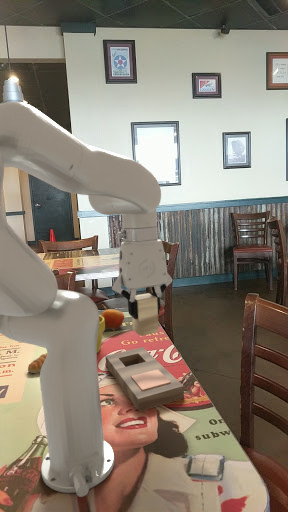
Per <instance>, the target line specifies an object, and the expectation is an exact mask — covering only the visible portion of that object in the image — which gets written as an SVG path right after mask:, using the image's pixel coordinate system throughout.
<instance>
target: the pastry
mask: <svg viewBox="0 0 288 512" xmlns="http://www.w3.org/2000/svg"><path fill="white" fill-rule="evenodd" d="M46 357H47V352H46V353H42V354H41V355H39V357H37V358H36V359H34V360H32V361H31V362H30V363H29V364H28V366H27V371H28V373H30V374H31V373H32V374H36V375H37V374H40V371H41V368H42V365H43V363H44V361H45V359H46Z"/></svg>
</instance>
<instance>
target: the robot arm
mask: <svg viewBox="0 0 288 512" xmlns="http://www.w3.org/2000/svg"><path fill="white" fill-rule="evenodd" d="M5 168H15V169H18V170H21V171H22V172H25V173H26V174H29V175H31V176H33V177H35V178H37V179H39V180H41V181H43V182H45V184H48V185H51V186H52V187H53V188H56V189H58V190H59V191H63V192H65V193H66V192H67V193H70V194H74V195H75V194H76V195H82V196H88V202H89V204H90V206H91V208H92V209H93V210H94V211H95V212H97V213H99V214H101V215H106V216H122V217H121V219H122V221H121V222H122V228H121V230H120V231H117V233H116V237H117V239H122V240H123V241H122V242H121V243H120V247H119V256H118V276H117V278H116V280H115V281H114V283H113V285H112V287H111V289H112V291H114V292H115V293H118V294H119V295H121V296H122V297H124V298H125V299H126V300H127V306H128V307H127V309H128V311H127V312H128V314H129V316H130V317H131V318H132V317H133V318H134V319H138V308H137V302H136V301H135V296H136V295H137V290H140V289H145V288H150V291H151V295H153V296H155V297H157V305H158V316H159V315H160V310H161V298H162V296H163V293H164V292H165V290H166V289H167V287H169V285H170V284H172V282H173V278H172V277H171V275H170V274H169V273H168V267H167V258H166V254H165V249H164V245H163V241H162V239H158V238H159V237H158V236H159V235H158V233H159V232H158V218H157V217H158V216H157V209H158V207H159V206H160V204H161V199H162V191H161V185H160V184H159V181H158V180H157V177H155V175H154V174H153V173H152V172H151V171H150V170H148V169H147V168H146V167H145V166H143V164H141V163H139V162H138V161H136V160H135V159H132V158H130V157H126V156H124V155H121V154H117V153H115V152H111V151H109V150H105V149H101V148H98V147H95V146H92V145H89V144H86V143H84V142H83V141H82V140H80V139H78V138H77V137H76V136H74V135H73V134H72V133H71V132H69V131H68V130H67V129H65V128H63V127H62V126H60V125H59V124H58V123H56V122H55V121H54V120H52V119H51V118H50V117H49V116H47V115H46V114H44V113H43V112H41V111H40V110H38V108H35V107H34V106H32V105H31V104H28V103H25V102H21V101H8V102H4V103H0V334H1V336H2V335H3V336H4V337H6V338H7V339H9V340H13V341H15V342H17V343H18V342H19V343H23V344H28V345H33V346H37V347H42V348H45V349H46V353H47V357H46V359H45V361H44V363H43V365H42V368H41V371H40V373H39V383H40V391H41V399H42V407H43V415H44V424H45V425H44V426H45V432H46V441H47V450H48V452H47V454H46V455H45V456H44V457H43V459H42V462H41V467H40V468H41V469H40V471H41V478H42V480H43V482H44V484H45V485H46V486H47V487H49V488H50V489H52V490H54V491H56V492H60V493H71V494H72V493H75V494H76V496H77V497H80V498H82V497H85V496H87V494H88V493H89V490H90V489H92V488H94V487H96V486H98V485H100V484H101V483H102V482H103V481H104V480H106V478H107V477H108V476H109V475H110V474H111V471H113V467H114V465H115V453H114V449H113V448H112V445H110V444H109V443H108V442H107V441H105V439H104V438H105V437H104V427H103V417H102V414H103V413H102V405H101V393H100V383H99V381H100V380H99V372H98V355H97V354H98V353H97V337H98V329H99V315H100V313H99V312H100V311H99V308H98V307H97V305H96V303H95V302H94V301H93V299H91V298H90V297H89V296H88V295H85V294H83V293H81V292H78V291H73V290H64V289H59V286H58V281H57V278H56V276H55V274H54V272H53V271H52V269H51V268H50V266H49V265H48V264H47V263H46V262H45V261H44V260H43V259H42V258H41V257H40V256H39V255H38V254H37V253H36V252H35V251H34V250H33V249H32V248H31V247H30V246H29V245H28V243H26V241H25V240H23V238H21V237H20V236H19V235H18V233H17V232H16V231H15V230H14V229H13V227H12V226H11V225H10V224H9V222H8V221H7V219H6V217H5V215H4V213H5V212H4V209H3V187H4V186H3V185H4V177H5ZM122 286H124V287H125V288H126V289H124V288H122Z"/></svg>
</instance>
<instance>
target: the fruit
mask: <svg viewBox="0 0 288 512" xmlns="http://www.w3.org/2000/svg"><path fill="white" fill-rule="evenodd" d="M100 316H102V317H104V320H105V330H104V331H106V330H111V331H113V333H115V332H116V331H115V330H118V329H120V328H121V326H122V324H123V322H124V321H125V320H124V319H125V314H124V313H123V312H122V311H120V310H117V309H111V308H109V309H105V310H104V311H102V312H101V315H100Z"/></svg>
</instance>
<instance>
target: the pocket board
mask: <svg viewBox="0 0 288 512" xmlns="http://www.w3.org/2000/svg"><path fill="white" fill-rule="evenodd" d="M104 358H105V366H106V368H107V369H108V371H109V372H110V373H111V375H112V376H113V378H114V379H115V381H116V382H117V383H118V384H119V386H120V387H121V389H122V391H123V392H125V394H126V395H127V397H128V398H129V400H130V401H131V403H132V404H133V405H134V407H135V408H136V409H137V411H138V412H143V411H146V410H149V409H154V408H155V407H160V406H163V405H166V404H170V403H172V402H176V401H179V400H180V401H181V400H182V399H185V388H184V387H185V386H184V385H183V384H182V383H181V382H180V381H179V380H178V379H177V378H176V377H175V376H174V375H173V374H171V372H170V371H168V369H166V367H164V366H163V365H162V364H161V363H160V362H159V361H158V360H157V359H156V358H155V357H154V356H153V355H152V354H151V353H150V352H149V351H148V350H146V349H145V348H144V347H142V346H141V347H138V348H133V349H128V350H125V351H121V352H115V353H111V354H107V355H105V357H104Z"/></svg>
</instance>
